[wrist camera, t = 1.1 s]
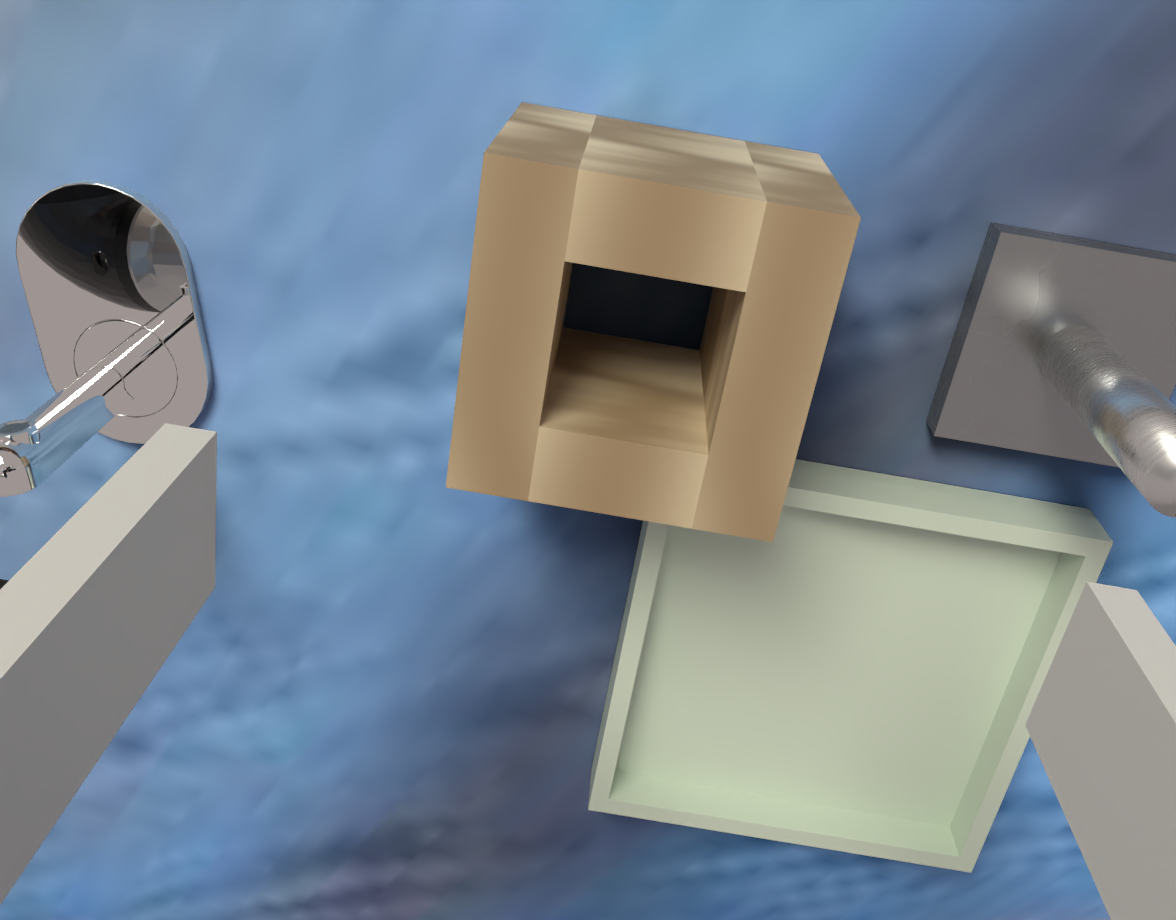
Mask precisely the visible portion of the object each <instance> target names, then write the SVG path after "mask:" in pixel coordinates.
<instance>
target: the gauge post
mask: <svg viewBox="0 0 1176 920" xmlns="http://www.w3.org/2000/svg"><path fill="white" fill-rule="evenodd" d="M1175 384H1176V255H1175V254H1169V253H1163V252H1158V251H1152V250H1146V249H1140V248H1135V247H1129V246H1123V245H1117V244H1112V243H1106V242H1100V241H1094V240H1088V239H1083V238H1077V237H1071V236H1065V235H1060V234H1054V233H1048V232H1042V231H1036V230H1031V229H1025V228H1019V227H1013V226H1008V225H1002V224H996V223H991V224H990V227H989V230H988V233H987V236H986V239H985V242H984V245H983V249H982V252H981V255H980V258H979V261H978V264H977V267H976V270H975V273H974V276H973V279H972V283H971V286H970V289H969V292H968V295H967V298H966V301H965V304H964V307H963V310H962V313H961V316H960V320H959V323H958V326H957V329H956V332H955V335H954V338H953V341H952V344H951V347H950V350H949V353H948V357H947V360H946V363H945V366H944V369H943V372H942V375H941V378H940V381H939V384H938V387H937V391H936V394H935V397H934V400H933V403H932V406H931V409H930V412H929V415H928V418H927V421H926V422H927V424H928V426H929V428H930V429H931V431H932V433H933V435H934V436H938V437H943V438H949V439H955V440H961V441H967V442H973V443H979V444H985V445H990V446H996V447H1002V448H1008V449H1014V450H1020V451H1026V452H1032V453H1038V454H1043V455H1049V456H1055V457H1061V458H1067V459H1073V460H1079V461H1085V462H1090V463H1096V464H1102V465H1108V466H1114V467H1120V468H1121V470H1122V471H1123V472H1124V473H1125V474H1126V476H1127V477H1128V478H1129V479H1130V480H1131V482H1132V483H1133V484H1134V485H1135V487H1136V488H1137V489H1138V490H1139V491H1140V493H1141V494H1142V495H1143V496H1144V497H1145V499H1146V500H1147V501H1148V502H1149V503H1150V505H1151V506H1152V507H1153V508H1154V509H1155V510H1157V511H1158V512H1160V513H1162V514H1164V515H1167V516H1170V517H1176V406H1175V405H1174V404H1173V403H1172V402H1171V401H1170V400H1169V398H1170V396H1171V394H1172V391H1173V389H1174V387H1175Z"/></svg>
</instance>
